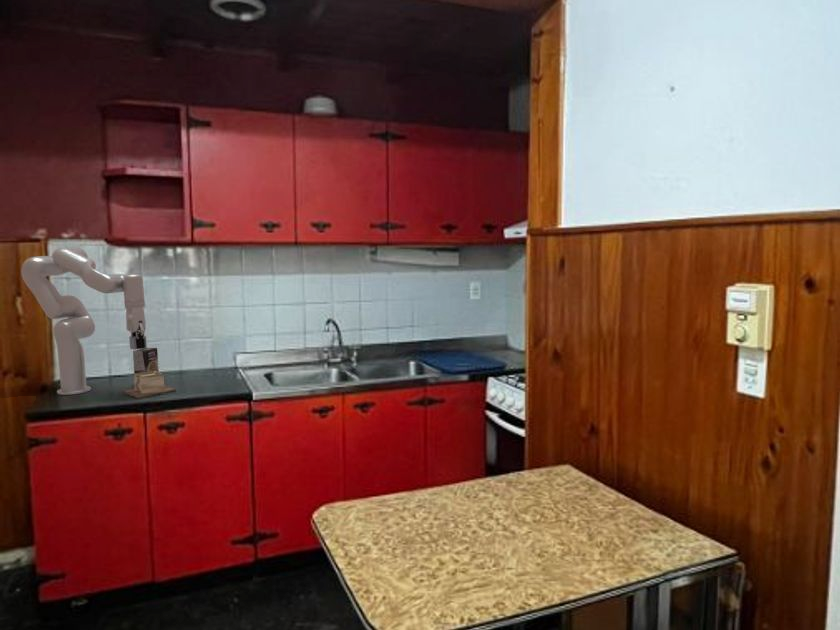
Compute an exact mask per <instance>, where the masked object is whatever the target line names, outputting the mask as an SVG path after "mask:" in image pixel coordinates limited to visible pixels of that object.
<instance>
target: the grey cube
mask: <svg viewBox="0 0 840 630" xmlns="http://www.w3.org/2000/svg"><path fill="white" fill-rule="evenodd" d="M128 338H129V348H130V349H131V350H132V351H135V350H138V349H137V346H136V339H137V337H136V336H131V335H130V336H129V337H128ZM144 340H145V348H148V345H147V336H146V335H144ZM140 349H144V348H140Z"/></svg>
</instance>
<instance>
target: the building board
mask: <svg viewBox="0 0 840 630" xmlns="http://www.w3.org/2000/svg"><path fill="white" fill-rule="evenodd" d="M133 375H134V376H133V386H134V388H128V389H123V390H122V392H124V393H123V394H125V393H126V395H127V394H128V395H127V396H129V395H130V397H131V396H133V397H132V398H134V397H135V398H134V399H136V398H140V399H143V398H142V397H146V398H149V397H148V396H151V397H154V396H153V395H157V394H162V395H164V394H163V393H168V394H170V393H169V392H173V393H176V392H177V390H176V388H172V387H170V386H168V385H165V379H164V378H165V377H164V375H163V373H162V372H160V371H159V372H156V371H151V372H144V373H138V374H134V373H133ZM175 391H176V392H175ZM157 396H158V395H157Z"/></svg>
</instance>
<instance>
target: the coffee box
mask: <svg viewBox="0 0 840 630" xmlns="http://www.w3.org/2000/svg"><path fill="white" fill-rule="evenodd" d="M132 356H133V359H132V360H133V361H132V362H133V375H134V374H138V373H144V372H151V371H156V372H159V373H160V370H159V357H158V356H159V355H158V348H157V347H147V348H144V349H136V350H132Z"/></svg>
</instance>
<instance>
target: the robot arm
mask: <svg viewBox="0 0 840 630" xmlns="http://www.w3.org/2000/svg"><path fill="white" fill-rule="evenodd" d="M96 267H97V264H96V261H94V260H93V259H92V258H89V256H88V253H87V251H85V250H84V249H83V248H82V247H81V248H80V247H76V246H74V247H73V246H72V247H71V246H69V247H68V246H67V247H63V246H62V247H58V248H56V249H55V250H54V251H53V252H52V254H51V255H40V256H39V255H38V256H31V257H29V258H27V259H25V261H24V262H23V263H22V266H21V271H20V272H21V277H22V280H23V282H24V283H25V285H26V286H27V287H28V289H29V291H31V293H32V294H33V296H34V297H35V299H36V301H37V302H38V304H39V305H40V307H41V309H42V310H43V312H44V314H45V315H46V316H47V317H48V318H49V319H51V320H59V319H61V320H59V321H57V322H56V323H55V324H54V326H53V330H52V333H53V337H54V339H55V343H56V347H57V357H58V367H59V369H58V370H59V379H60V381H59V382H60V388H59V389H57V390H56V394H58V395H61V396H64V395H65V396H67V395H70V396H71V395H78V394H79V395H80V394H84V393H88V392H90V391H91V389H92V388H91V386H89V385H87V376H86V364H85V363H86V361H85V352H84V347H83V345H82V343H81V341H80V340H81V339H86V338H89V337H91V336H92V335H94V333H95V331H96V323H95V322H94V320H93V318H92V317H91V315H90V312H89V311H88V310H87V308H86V307H85V306H84V304H83V302H82V301H81V300H80V298H79V297H77V296H74V295H62V294H61V293H60V292H59V290H58V289H57V287H56V286H55V285H54V283H53V282H51V281H50V280H49V279H48V278H46V277H50V276H61V275H64V274H67V273H69V272H70V273H71V274H73V275H75V276H78V277H79V278H81V280H82V282H83V283H84V284H85V285H86V286H87V287H88V288H91V289H93V290H95V291H97V292H99V293H102V294H114V293H115V294H116V293H123V298H124V300H123V301H124V308H125V310H126V311H125V323H126V324H125V325H126V331H127V332H130V337H131V336H136V337H137V339H136V346H137V349H136V350H139V349H140V348H145V340H144V336H145V331H146V328H147V326H146V324H147V323H146V316H145V310H144V308H146V302H145V301H146V300H145V293H144V291H145V290H144V279H143V276H142V275H141V274H138V273H134V274H132V273H131V274H123V273H116V274H114V273H113V274H104V273H102V272H100V271H98V270H96Z"/></svg>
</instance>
